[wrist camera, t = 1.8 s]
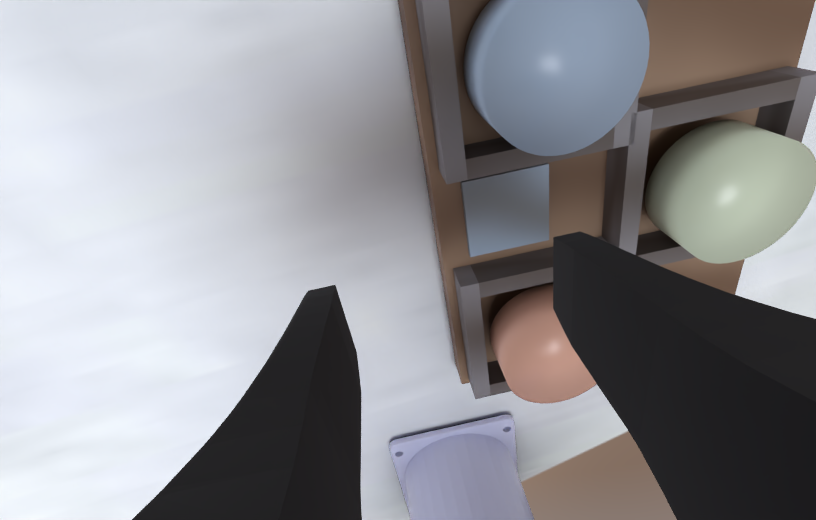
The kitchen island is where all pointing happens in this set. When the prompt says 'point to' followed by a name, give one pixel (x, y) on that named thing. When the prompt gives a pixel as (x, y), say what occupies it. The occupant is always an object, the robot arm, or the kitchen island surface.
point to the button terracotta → (537, 349)
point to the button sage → (730, 190)
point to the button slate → (555, 69)
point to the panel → (586, 152)
